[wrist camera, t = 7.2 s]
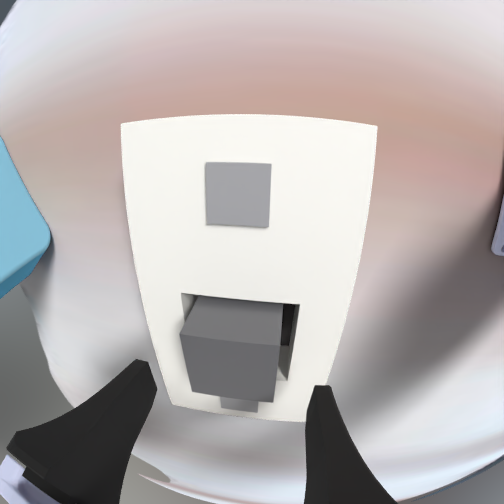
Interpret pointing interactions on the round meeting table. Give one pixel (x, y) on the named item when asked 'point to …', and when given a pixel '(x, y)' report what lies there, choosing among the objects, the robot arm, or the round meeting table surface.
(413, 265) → the round meeting table surface
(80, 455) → the robot arm
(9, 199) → the data package
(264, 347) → the plug
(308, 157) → the white socket board
